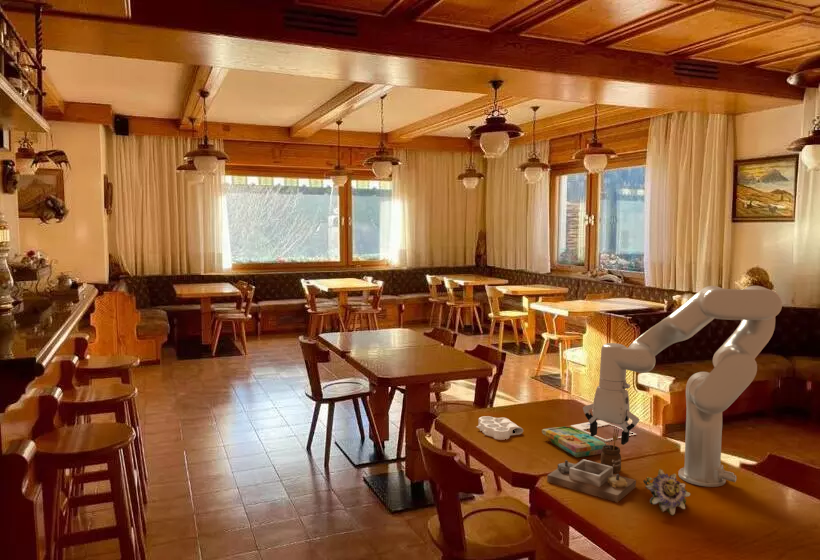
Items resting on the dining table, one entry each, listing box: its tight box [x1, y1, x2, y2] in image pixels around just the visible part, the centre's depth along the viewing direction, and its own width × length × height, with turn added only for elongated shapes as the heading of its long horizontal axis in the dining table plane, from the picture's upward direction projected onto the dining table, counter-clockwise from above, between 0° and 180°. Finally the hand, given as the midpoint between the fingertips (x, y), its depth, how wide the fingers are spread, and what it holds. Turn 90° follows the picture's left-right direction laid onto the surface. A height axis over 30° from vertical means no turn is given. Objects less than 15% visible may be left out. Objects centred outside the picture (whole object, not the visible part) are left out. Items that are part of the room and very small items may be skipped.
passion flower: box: [643, 468, 691, 516], centre depth 163 cm, size 11×11×12 cm
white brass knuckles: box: [476, 415, 524, 441], centre depth 224 cm, size 3×18×15 cm
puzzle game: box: [541, 425, 607, 458], centre depth 208 cm, size 12×5×20 cm
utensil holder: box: [600, 428, 622, 474], centre depth 187 cm, size 6×6×12 cm
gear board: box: [546, 458, 637, 503], centre depth 177 cm, size 21×13×5 cm, turn 49°
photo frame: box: [570, 419, 637, 443], centre depth 224 cm, size 15×1×18 cm
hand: (608, 439), depth 187 cm, fingers open, 9 cm apart
